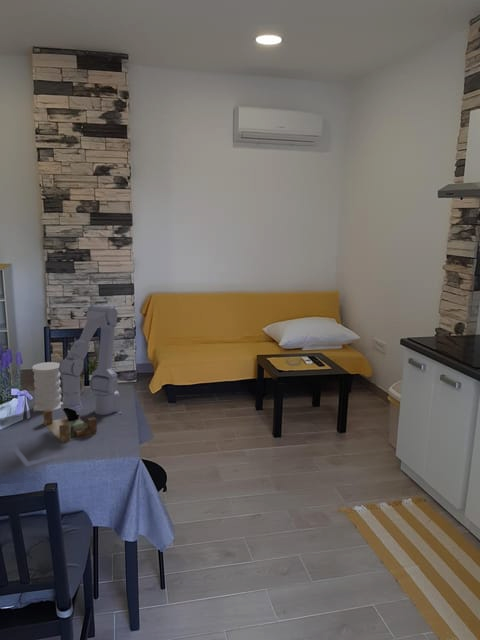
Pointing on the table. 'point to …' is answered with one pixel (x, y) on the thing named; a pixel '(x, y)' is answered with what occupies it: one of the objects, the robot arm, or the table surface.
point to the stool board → (62, 422)
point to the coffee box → (80, 383)
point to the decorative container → (47, 386)
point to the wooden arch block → (90, 429)
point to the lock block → (76, 424)
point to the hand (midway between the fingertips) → (73, 426)
